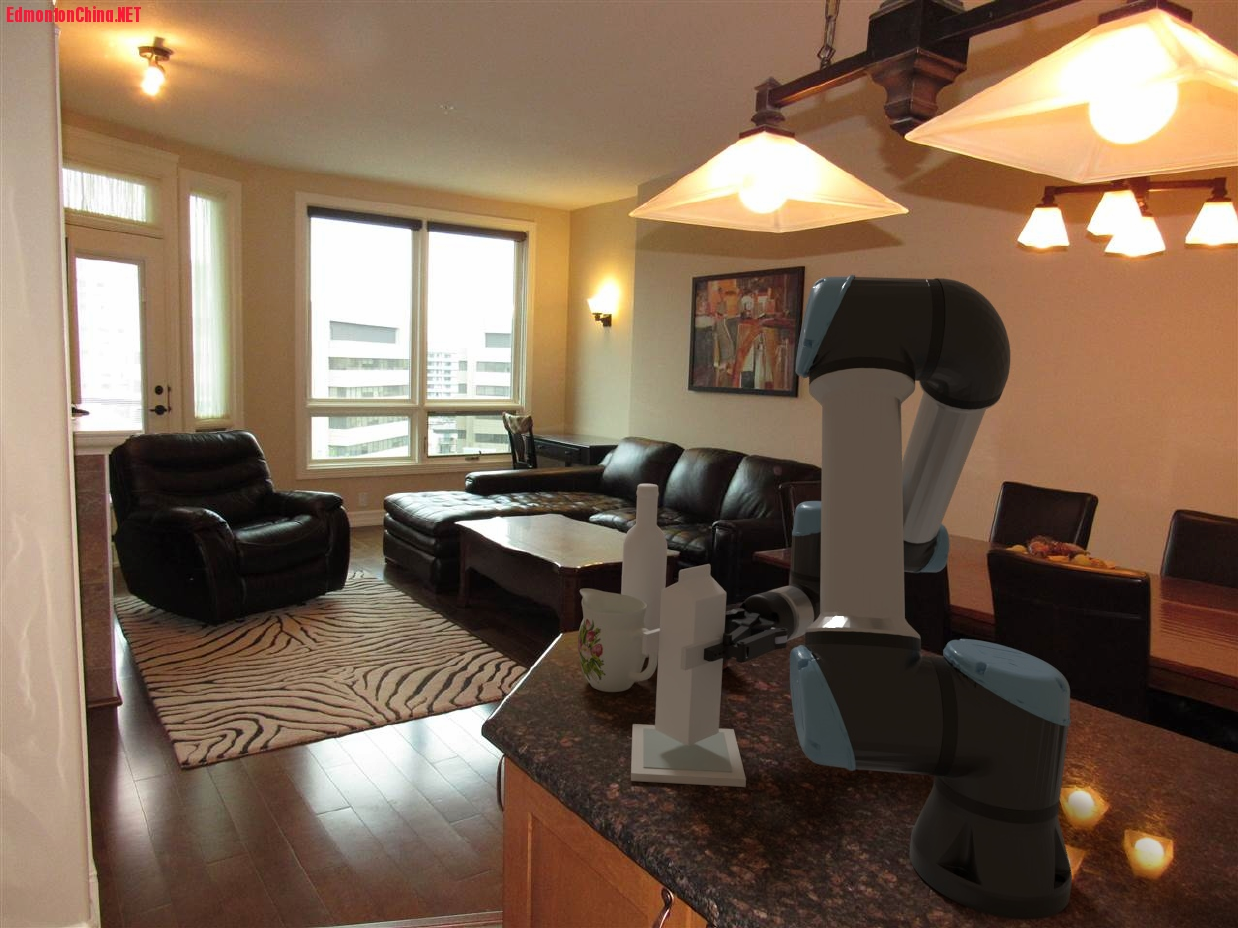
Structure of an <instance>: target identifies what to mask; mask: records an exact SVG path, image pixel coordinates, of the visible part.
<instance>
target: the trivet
mask: <svg viewBox="0 0 1238 928" xmlns="http://www.w3.org/2000/svg"><path fill="white" fill-rule="evenodd" d="M631 735H632V736H631V763H630V764H631V766H630V782H642V783H643V782H644V783H645V782H647V783H660V784H661V783H664V784H680V785H681V784H682V785H683V784H684V785H701V786H703V785H704V786H716V787H717V786H719V787H735V788H736V787H738V788H740V787H741V788H746V785H747V782H746V781H747V777H746V775H745V771H744V766H743V762H742V758H741V753H740V750H739V746H738V743H737V737H736V734H735V730H734V728H720V727H719V732H718V733H717V734H715V735H712V736H710V737H708V738H705V739H703V740H701V741H698V742H696V743H694V744H691V745H689V746H687V745H685V744H683V743H681V742H679V741H677V740H675V739H673V738H671V737H669V736H667V735H665V734H663V733H661V732H659V731H657V730H655V724H640V723H637V724H636V723H632V734H631Z"/></svg>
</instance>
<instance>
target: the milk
mask: <svg viewBox="0 0 1238 928" xmlns="http://www.w3.org/2000/svg"><path fill="white" fill-rule="evenodd" d="M711 567H712V566H711V564H710V563H707V564H703V565H698V566H693V567H688V568H684V569H680V570H679V571H678V581H676V582H675V583H673V584H671V585H669V586H667V587H666V586H665V588H664V589H662V590H661V610H660V631H659V652H658V661H657V677H656V697H655V717H654V718H655V721H654V725H655V730H657V731H659V732H661V733H663V734H665V735H667V736H669V737H671V738H673V739H675V740H677V741H679V742H681V743H683V744H685V745H687V746H689V745H691V744H694V743H696V742H698V741H701V740H703V739H705V738H708V737H710V736H712V735H715V734H717V733H718V732H719V728H720V713H721V712H720V711H721V699H722V698H721V697H722V696H721V695H722V694H721V693H722V680H723V679H722V678H723V670H722V665H723V658H722V659H718V660H716V661H712V662H709V663H706V664H703V665H700V666H697V667H694V668H691V669H688V670H682V669H680V668H681V649H682V647H685V646H688V645H691V644H694V643H698V642H701V641H704V640H707V639H711V638H714V637H718V638H721V642H720V643H723V633H724V630H725V612H726V611H727V610H726V609H727V591H726V590H724V588H723V587H722V586H721V585H720V584H719V583H718V582H717V581H716V580H715V578H714V577H712V575H711V570H712V569H711Z"/></svg>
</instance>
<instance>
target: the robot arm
mask: <svg viewBox="0 0 1238 928" xmlns="http://www.w3.org/2000/svg"><path fill="white" fill-rule="evenodd" d="M806 302H807V303H806V305H805V311H804V314H803V319H802V323H801V330H800V335H799V339H798V344H797V345H798V346H797V351H796V357H795V359H796V360H795V374H796V375H797V376H798V377H802V378H803V379H807V378H808V393H809V394H810V396H811V397H812V399H814V400H815V401H816V402H817V403H819V405H821V410H822V411H821V415H822V416H821V420H822V421H821V487H820V488H821V489H820V490H821V493H820V494H821V495H820V496H821V500H809V501H807V500H806V501H803V502H801V503H799V504H797V506H796V508H795V509H794V510H795V511H794V519H793V527H792V528H793V529H792V530H791V535H792V537H791V541H792V542H791V557H790V571H789V581H788V582H789V583H788V585H786V586H781V587H778V588H774V589H771V590H767V591H765V592H761V593H757V594H753V595H751V596H749V597H747V598H745V600H744V601H743V602H742V604H741V605H740V606H739V607H738V608H733V609H730V610H726V612H725V630H724V633H723V643H720V642H721V638H718V637H714V638H711V639H707V640H704V641H701V642H698V643H694V644H691V645H688V646H685V647H682V649H681V668H680V669H682V670H688V669H691V668H694V667H697V666H700V665H703V664H706V663H709V662H712V661H716V660H718V659H722V658H723V659H725V660H728V661H730V660H731V659H732V658H734V659H735V662H737V663H740V664H742V663H746V662H749V661H752V660H754V659H756V658H758V657H761V656H762V655H765V654H768V653H770V652H773V651H776V650H782V649H783V650H784V649H786V648H787V645H788V642H789V641H791V640H795V639H796V638H799V637H802V636H804V639H805V640H804V645H802V644H800V645H798V646H795V647H793V648H792V649H791V650H790V654H789V671H790V672H789V685H790V687H789V688H790V698H791V706H792V712H793V721H794V725H795V730H796V735H797V739H798V742H799V745H800V747H801V750H802V752H803V754H804V755H805V756H806V758H808V759H809V760H810V761H811V762H812V763H814V764H817V765H820V766H821V765H822V766H828V767H834V768H843V769H846V770H848V771H849V772H851V771H856V770H862V771H863V770H864V771H874V772H875V771H876V772H889V773H899V774H909V775H910V774H911V775H912V774H913V775H923V776H924V775H926V776H934V777H933V785H932V788H931V791H930V792H929V794H928V796H927V799H926V800H925V802H924V804H923V807H922V809H921V810H920V813H919V815H918V817H917V819H916V821H915V823H914V826H913V828H912V831H911V835H910V845H909V860H910V863H911V864H912V865H911V866H912V867H913V869H914V870H915V871H916V873H917V874H918V875H919V876H920V878H922V880H923V881H924V882H925V883H926V884H928V885H929V886H930V887H931V888H933V889H934V890H935V891H937V892H939V894H941V895H943V896H944V897H947V898H948V899H950V900H952V901H954V902H956V903H958V904H960V905H962V906H964V907H967V908H968V909H972V910H975V911H978V912H980V913H984V914H988V915H992V916H995V917H1002V918H1005V919H1007V918H1008V919H1014V920H1015V919H1016V920H1037V919H1045V918H1048V917H1052V916H1055V915H1057V914H1059V913H1060V912H1062V911H1064V910H1065V908H1066V907H1067V906H1068V905H1069V902H1070V899H1071V892H1072V891H1071V890H1072V883H1073V875H1072V874H1073V873H1072V869H1071V863H1070V861H1069V857H1068V853H1067V848H1066V844H1065V840H1064V836H1063V832H1062V828H1061V824H1060V820H1059V819H1060V818H1059V812H1060V811H1059V809H1060V801H1061V793H1062V792H1061V791H1062V785H1063V775H1064V767H1065V757H1066V750H1067V742H1068V734H1069V726H1070V725H1071V723H1072V720H1071V717H1070V714H1071V713H1070V705H1071V704H1070V703H1071V702H1070V701H1071V700H1070V699H1071V689H1070V685H1069V682H1068V680H1067V678H1066V677H1065V676H1064V675H1063V674H1062V672H1060V671H1059V670H1058V669H1057V668H1056V667H1054V666H1053V665H1051V664H1050V663H1048V662H1046V661H1044V660H1042V659H1040V658H1038V657H1036V656H1034V655H1031V654H1029V653H1026V652H1024V651H1021V650H1018V649H1016V648H1012V647H1008V646H1006V645H1002V644H998V643H994V642H989V641H984V640H978V639H970V638H969V639H968V638H960V639H952V640H950V641H948V642H947V644H946V645H945V647H944V649H943V650H942V651H943V656H930V655H929V656H927V655H923V654H922V640H921V639H922V638H921V635H920V634H919V633H918V632H917V631H916V630H915V629H914V627H912V625H910V624H909V623H908V621H907V619H906V618H905V617H906V616H905V613H906V611H905V610H906V608H905V606H906V605H905V572H906V573H912V574H919V573H938V572H941V571H942V570H943V569H945V567H946V566H947V563H948V560H949V553H950V536H949V532H948V530H947V527H946V526H945V525H944V524H943V523H942V522H943V520H944V518H945V516H946V512H947V510H948V507H949V505H950V503H951V500H952V497H953V496H954V492H955V490H956V487H957V485H958V482H959V479H960V477H961V474H962V471H963V469H964V467H965V464H966V462H967V460H968V457H969V454H970V452H971V449H972V447H973V443H974V442H975V439H976V436H977V433H978V431H979V428H980V426H981V423H982V421H983V418H984V415H985V412H986V410H987V409H990V408H992V407H993V406H995V405H996V404H997V403H999V401H1000V399H1001V397H1002V394H1003V392H1004V390H1005V388H1006V385H1007V382H1008V380H1009V374H1010V370H1011V369H1010V368H1011V346H1010V345H1011V344H1010V341H1009V336H1008V332H1007V330H1006V327H1005V324H1004V322H1003V319H1002V316H1000V314H999V313H998V311H997V309H996V308H995V307H994V305H993V304H992V303H991V302H990V300H989V299H987V297H986V296H985V295H984V294H982V293H981V292H979V291H978V290H977V289H975V288H974V287H972V286H970V285H969V284H966V283H964V282H962V281H959V280H955V279H951V278H950V279H949V278H943V277H941V278H939V277H937V278H912V277H908V278H907V277H876V276H874V277H871V276H870V277H869V276H856V274H850V275H849V276H826V277H822V278H819V279H817V280H816V281H815V282H814V283H813V284H812V287H811V288H810V290H809V294H808V297H807V301H806ZM916 381H917V382H918V383H919V387H920V388H921V391H922V392H923V393H922V396H921V399H920V403H919V406H918V409H917V412H916V415H915V419H914V422H913V425H912V429H911V432H910V435H909V438H908V442H907V445H906V448H905V451H904V456H903V445H902V444H903V442H902V440H903V439H902V437H903V436H902V434H903V433H902V431H903V430H902V404H903V403H904V402H905V401H906V400H907V399H908V398H909V397H911V396H912V395H913V394H914V392H915V390H916ZM659 631H660V628H659V629H655V630H651V631H648V632H644V633H643V640H642V654H645V655H648V654H651V653H654V652H657V651H659Z"/></svg>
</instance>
